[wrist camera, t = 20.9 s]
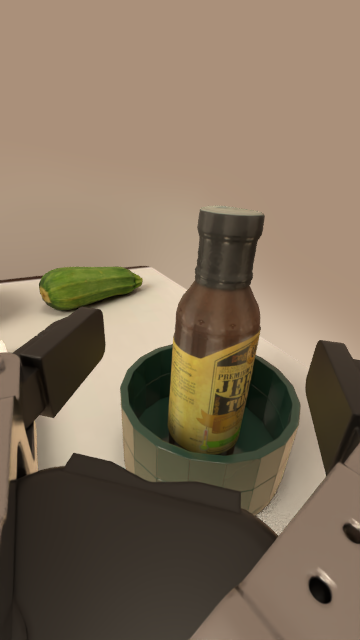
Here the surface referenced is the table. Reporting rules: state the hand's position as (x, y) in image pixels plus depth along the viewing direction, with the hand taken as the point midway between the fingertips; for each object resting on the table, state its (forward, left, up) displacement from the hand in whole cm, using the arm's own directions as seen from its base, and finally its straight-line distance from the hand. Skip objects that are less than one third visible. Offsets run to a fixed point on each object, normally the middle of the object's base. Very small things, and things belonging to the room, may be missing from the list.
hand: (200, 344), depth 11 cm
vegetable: (+6, -45, -17) cm, 48 cm away
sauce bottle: (-4, -9, -16) cm, 19 cm away
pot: (-4, -9, -17) cm, 19 cm away
